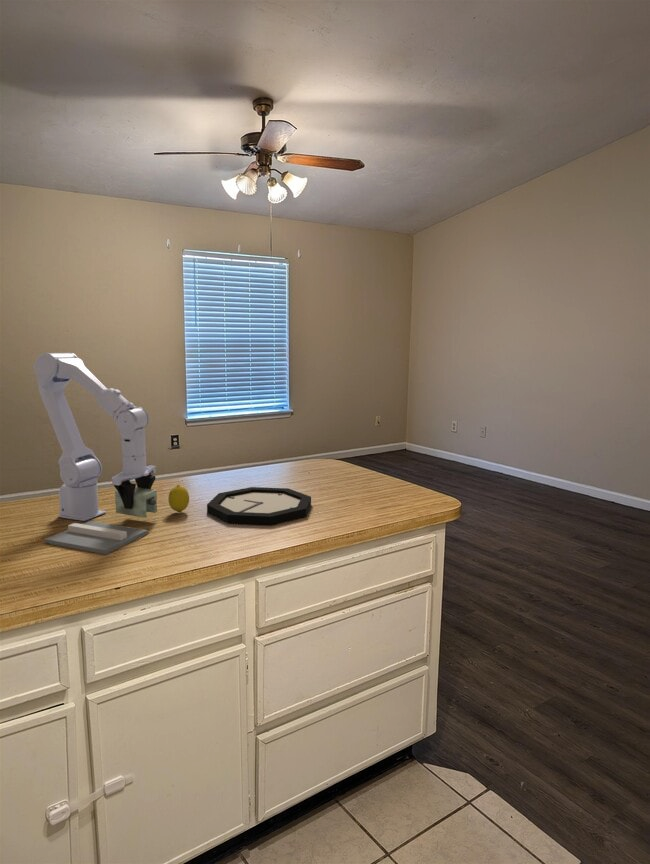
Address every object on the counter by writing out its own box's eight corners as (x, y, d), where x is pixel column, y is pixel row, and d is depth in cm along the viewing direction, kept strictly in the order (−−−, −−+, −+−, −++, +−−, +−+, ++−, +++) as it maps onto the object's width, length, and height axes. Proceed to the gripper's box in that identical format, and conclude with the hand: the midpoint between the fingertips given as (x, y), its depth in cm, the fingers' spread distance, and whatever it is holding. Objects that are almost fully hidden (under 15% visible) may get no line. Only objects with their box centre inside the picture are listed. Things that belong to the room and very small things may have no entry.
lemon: (168, 510, 149) (167, 483, 148) (188, 509, 151) (187, 481, 150) (169, 516, 144) (168, 488, 143) (190, 514, 146) (189, 486, 145)
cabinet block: (115, 513, 139) (115, 490, 138) (129, 507, 144) (128, 486, 143) (147, 518, 136) (147, 495, 135) (160, 512, 141) (160, 490, 140)
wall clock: (331, 495, 158) (276, 524, 132) (331, 504, 158) (276, 535, 132) (248, 482, 172) (183, 506, 145) (248, 491, 172) (184, 516, 146)
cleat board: (44, 543, 124) (44, 532, 124) (90, 524, 137) (89, 515, 137) (105, 554, 118) (105, 543, 118) (147, 534, 131) (147, 524, 130)
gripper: (126, 461, 130) (129, 515, 132) (164, 451, 143) (166, 499, 145) (104, 459, 132) (106, 511, 134) (143, 448, 145) (145, 496, 148)
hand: (136, 505), depth 140 cm, fingers closed on cabinet block, 5 cm apart
